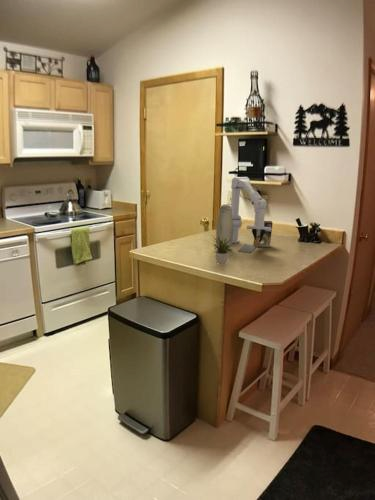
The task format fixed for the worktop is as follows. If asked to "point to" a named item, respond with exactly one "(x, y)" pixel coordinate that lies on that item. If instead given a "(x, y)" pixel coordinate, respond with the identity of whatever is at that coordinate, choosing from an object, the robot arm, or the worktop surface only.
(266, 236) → the coffee box
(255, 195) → the robot arm
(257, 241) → the spatula
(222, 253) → the house plant
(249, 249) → the mat
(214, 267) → the worktop surface
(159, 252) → the worktop surface
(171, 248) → the worktop surface
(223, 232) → the grey rounded cylinder
